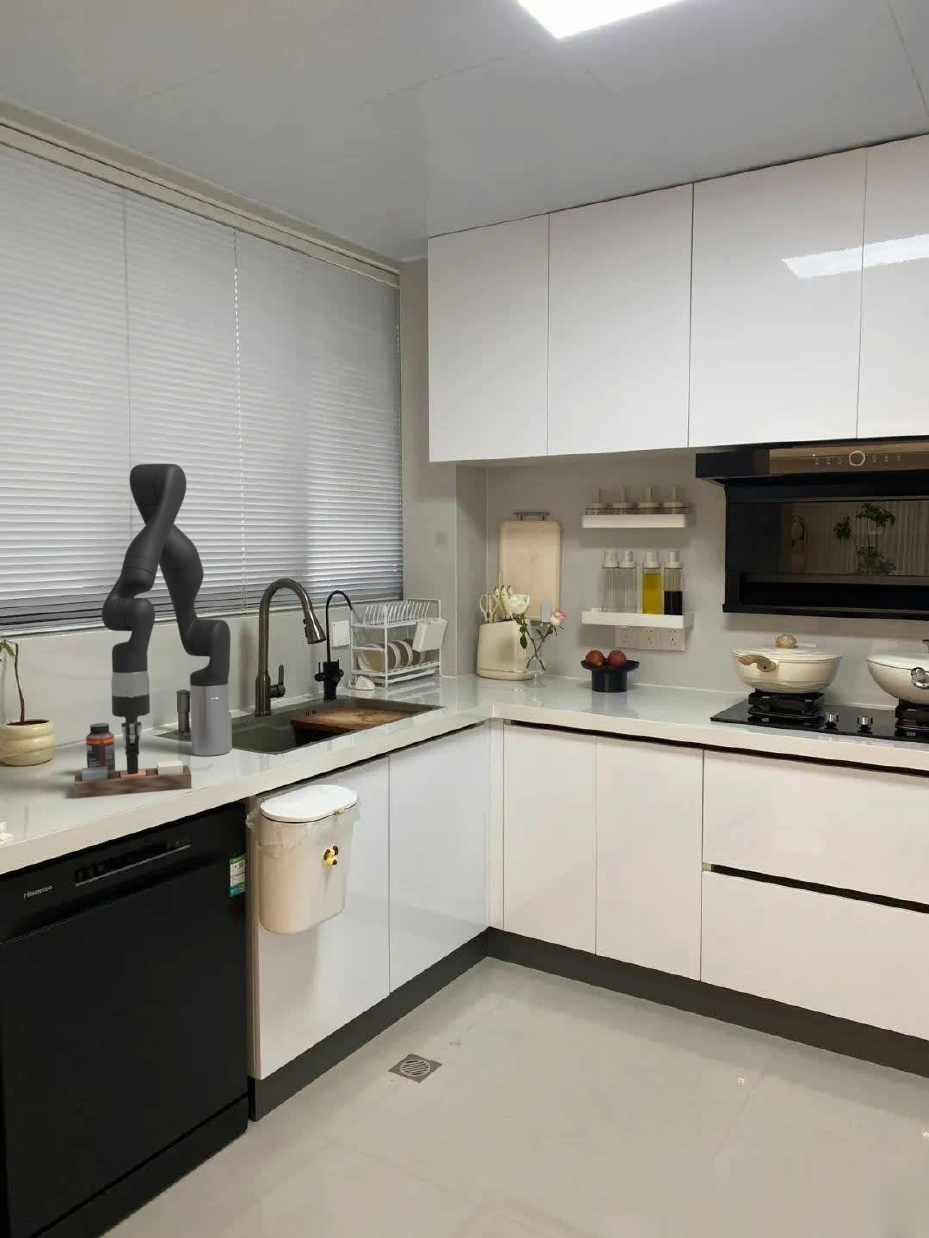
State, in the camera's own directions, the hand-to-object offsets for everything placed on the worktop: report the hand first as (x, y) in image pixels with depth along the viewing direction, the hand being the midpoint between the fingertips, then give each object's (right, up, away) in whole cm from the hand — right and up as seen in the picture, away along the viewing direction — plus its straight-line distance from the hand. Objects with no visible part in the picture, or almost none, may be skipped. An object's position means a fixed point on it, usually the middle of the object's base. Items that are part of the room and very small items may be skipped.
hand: (132, 773), depth 201 cm
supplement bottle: (-12, -3, +13) cm, 18 cm away
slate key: (-7, -1, -2) cm, 7 cm away
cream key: (+7, -1, +3) cm, 8 cm away
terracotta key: (0, -2, 0) cm, 2 cm away
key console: (0, -3, 0) cm, 3 cm away
